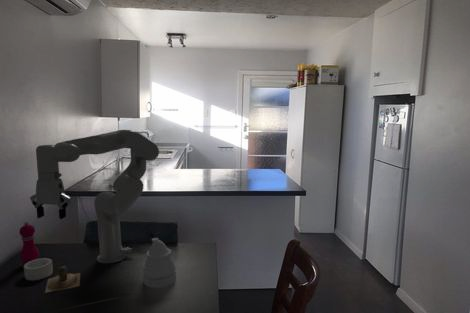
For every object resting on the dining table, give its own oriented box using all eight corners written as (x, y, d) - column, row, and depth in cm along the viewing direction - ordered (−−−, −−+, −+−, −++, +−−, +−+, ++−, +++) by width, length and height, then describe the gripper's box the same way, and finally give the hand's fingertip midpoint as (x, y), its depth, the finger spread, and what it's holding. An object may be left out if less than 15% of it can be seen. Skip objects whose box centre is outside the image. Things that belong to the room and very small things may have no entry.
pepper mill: (31, 268, 153) (26, 225, 150) (17, 267, 154) (12, 224, 151) (43, 261, 160) (39, 219, 157) (30, 260, 161) (25, 219, 158)
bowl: (53, 268, 152) (52, 256, 152) (51, 278, 143) (50, 265, 142) (27, 272, 148) (26, 260, 148) (23, 283, 139) (22, 270, 139)
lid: (77, 274, 145) (76, 260, 144) (76, 285, 136) (75, 270, 135) (50, 279, 141) (49, 264, 140) (48, 291, 132) (46, 275, 131)
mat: (80, 274, 146) (80, 272, 146) (79, 287, 135) (79, 286, 135) (48, 280, 142) (48, 278, 142) (45, 294, 131) (44, 292, 131)
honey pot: (165, 290, 132) (163, 245, 130) (137, 285, 137) (134, 241, 134) (181, 275, 144) (180, 233, 142) (155, 270, 149) (153, 230, 146)
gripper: (74, 174, 140) (76, 215, 143) (35, 173, 143) (38, 214, 145) (62, 178, 133) (65, 221, 135) (22, 177, 136) (25, 219, 138)
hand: (51, 217), depth 140 cm, fingers open, 9 cm apart
